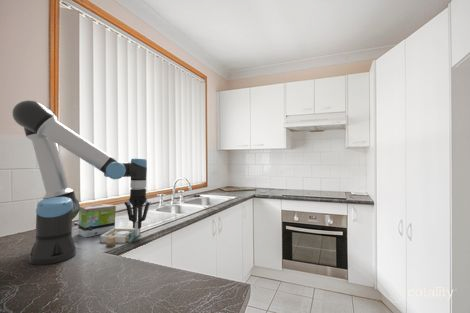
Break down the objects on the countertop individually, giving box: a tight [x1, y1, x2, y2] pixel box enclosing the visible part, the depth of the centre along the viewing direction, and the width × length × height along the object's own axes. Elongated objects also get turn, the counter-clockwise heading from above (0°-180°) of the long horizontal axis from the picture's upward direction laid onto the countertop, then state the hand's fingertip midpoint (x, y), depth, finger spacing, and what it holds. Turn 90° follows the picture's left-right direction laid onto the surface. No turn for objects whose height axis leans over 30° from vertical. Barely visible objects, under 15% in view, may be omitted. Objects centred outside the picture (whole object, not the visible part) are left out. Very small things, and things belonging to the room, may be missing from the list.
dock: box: [99, 227, 135, 244], centre depth 122 cm, size 14×12×3 cm
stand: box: [105, 237, 116, 248], centre depth 111 cm, size 4×4×4 cm
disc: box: [115, 231, 130, 237], centre depth 122 cm, size 7×7×2 cm
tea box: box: [77, 203, 117, 238], centre depth 130 cm, size 15×10×15 cm, turn 143°
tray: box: [109, 230, 141, 243], centre depth 122 cm, size 13×12×4 cm
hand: (136, 234), depth 122 cm, fingers closed
